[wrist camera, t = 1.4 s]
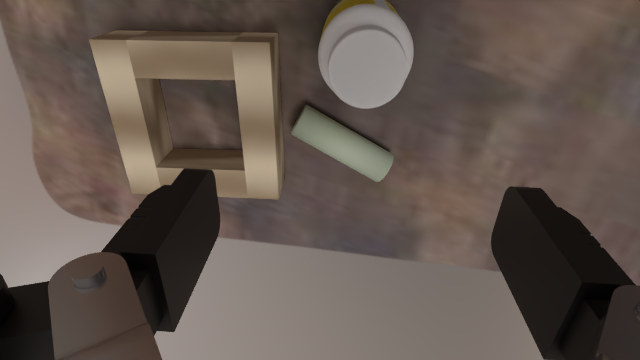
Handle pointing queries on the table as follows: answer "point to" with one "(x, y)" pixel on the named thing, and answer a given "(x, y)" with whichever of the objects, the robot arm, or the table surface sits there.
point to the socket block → (204, 64)
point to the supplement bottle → (365, 52)
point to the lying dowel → (342, 144)
